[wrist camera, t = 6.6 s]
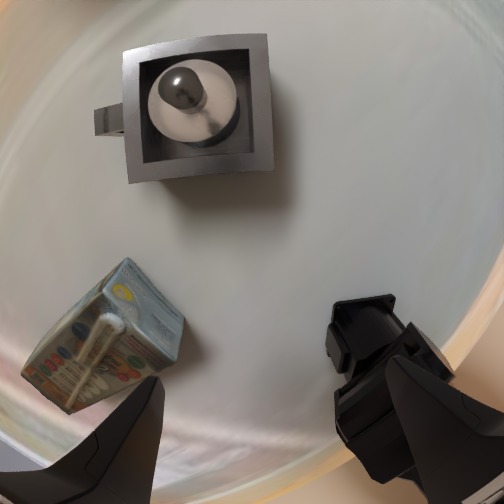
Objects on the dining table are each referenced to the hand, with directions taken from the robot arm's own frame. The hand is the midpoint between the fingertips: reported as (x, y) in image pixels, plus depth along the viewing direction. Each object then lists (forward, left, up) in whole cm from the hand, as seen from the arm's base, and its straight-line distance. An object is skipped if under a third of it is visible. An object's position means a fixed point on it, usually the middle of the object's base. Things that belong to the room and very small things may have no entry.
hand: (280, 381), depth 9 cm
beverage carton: (+16, +8, -13) cm, 22 cm away
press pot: (+4, -11, -13) cm, 17 cm away
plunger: (+3, -11, -12) cm, 16 cm away
